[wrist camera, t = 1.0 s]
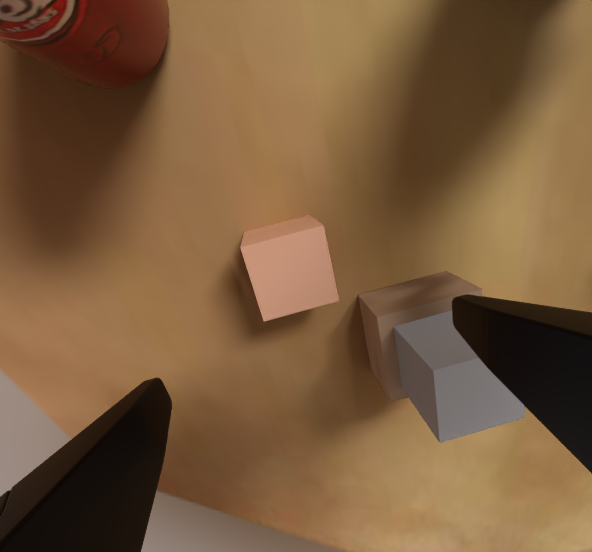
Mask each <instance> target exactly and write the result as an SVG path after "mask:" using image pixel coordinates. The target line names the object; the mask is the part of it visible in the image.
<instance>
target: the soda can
mask: <svg viewBox="0 0 592 552" xmlns="http://www.w3.org/2000/svg"><path fill="white" fill-rule="evenodd" d="M168 30H169V8H168V2H167V0H0V41H1V42H3V43H5V44H7V45H8V46H10V47H12V48H14V49H16V50H18V51H20V52H22V53H24V54H26V55H28V56H29V57H31V58H33V59H35V60H37V61H39V62H41V63H43V64H45V65H47V66H48V67H50V68H52V69H54V70H56V71H58V72H60V73H62V74H64V75H66V76H68V77H69V78H71V79H73V80H76V81H78V82H81V83H84V84H87V85H89V86H95V87H101V88H118V87H123V86H126V85H130V84H133V83H134V82H136V81H138V80H140V79H141V78H143V77H144V76H146V75H147V74H148V73H149V72H150V71H151V70H152V69H153V68H154V66H155V65H156V63H157V62H158V60H159V59H160V57H161V55H162V53H163V50H164V47H165V45H166V42H167V36H168Z"/></svg>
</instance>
